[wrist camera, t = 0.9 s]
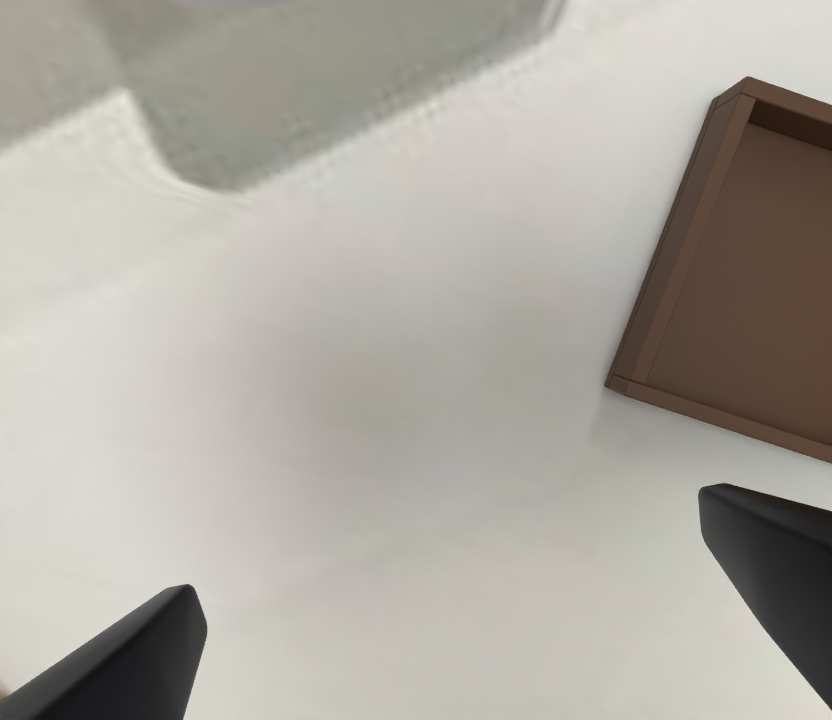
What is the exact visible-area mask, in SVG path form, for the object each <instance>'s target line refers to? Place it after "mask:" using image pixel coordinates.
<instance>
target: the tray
mask: <svg viewBox="0 0 832 720" xmlns="http://www.w3.org/2000/svg"><path fill="white" fill-rule="evenodd" d="M605 387H607V388H609V389H611V390H613V391H616V392H618V393H620V394H622V395H624V396H627V397H630V398H633V399H636V400H639V401H642V402H645V403H648V404H651V405H654V406H658V407H661V408H664V409H667V410H670V411H673V412H676V413H679V414H682V415H685V416H688V417H691V418H694V419H697V420H700V421H703V422H706V423H709V424H713V425H716V426H719V427H722V428H725V429H728V430H731V431H734V432H737V433H740V434H743V435H746V436H749V437H752V438H755V439H758V440H761V441H764V442H768V443H771V444H774V445H777V446H780V447H783V448H786V449H789V450H792V451H795V452H798V453H801V454H804V455H807V456H810V457H813V458H816V459H819V460H823V461H826V462H829V463H832V105H830V104H827V103H824V102H821V101H818V100H815V99H813V98H810V97H807V96H804V95H801V94H798V93H795V92H792V91H789V90H787V89H784V88H781V87H778V86H775V85H772V84H769V83H766V82H763V81H761V80H758V79H755V78H752V77H749V76H747V77H745V78H744V79H742V80H741V81H739V82H738V83H737V84H735V85H734V86H732V87H731V88H729V89H728V90H727V91H725V92H724V93H722V94H721V95H719V96H718V97H716V98H715V99H713V101H712V104H711V106H710V109H709V112H708V114H707V117H706V119H705V122H704V125H703V127H702V130H701V133H700V135H699V138H698V141H697V143H696V146H695V148H694V151H693V154H692V156H691V159H690V162H689V164H688V167H687V170H686V172H685V175H684V177H683V180H682V183H681V185H680V188H679V191H678V193H677V196H676V198H675V201H674V204H673V206H672V209H671V212H670V214H669V217H668V220H667V222H666V225H665V227H664V230H663V233H662V235H661V238H660V241H659V243H658V246H657V249H656V251H655V254H654V256H653V259H652V262H651V264H650V267H649V270H648V272H647V275H646V277H645V280H644V283H643V285H642V288H641V291H640V293H639V296H638V299H637V301H636V304H635V306H634V309H633V312H632V314H631V317H630V320H629V322H628V325H627V328H626V330H625V333H624V335H623V338H622V341H621V343H620V346H619V349H618V351H617V354H616V356H615V359H614V362H613V364H612V367H611V370H610V372H609V375H608V378H607V380H606V383H605Z"/></svg>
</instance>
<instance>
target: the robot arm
mask: <svg viewBox="0 0 832 720" xmlns="http://www.w3.org/2000/svg"><path fill="white" fill-rule="evenodd" d="M698 501H699V512H700V524H701V532H702V536H703V539H704V541H705V543H706V545H707V547H708V548H709V549H710V551H711V552H712V554H713V555H714V557H715V558H716V560H717V561H718V563H719V564H720V566H721V567H722V569H723V570H724V572H725V573H726V574H727V576H728V577H729V579H730V580H731V582H732V583H733V585H734V586H735V588H736V589H737V591H738V592H739V594H740V595H741V596H742V598H743V599H744V601H745V602H746V604H747V605H748V607H749V608H750V610H751V611H752V613H753V614H754V615H755V617H756V618H757V620H758V621H759V622H760V624H761V625H762V626H763V628H764V629H765V630H766V632H767V633H768V634H769V635H770V637H771V638H772V639H773V640H774V642H775V643H776V644H777V645H778V646H779V648H780V649H781V650H782V651H783V652H784V654H785V655H786V656H787V657H788V658H789V660H790V661H791V662H792V663H793V664H794V666H795V667H796V668H797V669H798V670H799V672H800V673H801V674H802V675H803V676H804V678H805V679H806V680H807V681H808V683H809V684H810V685H811V686H812V687H813V689H814V690H815V691H816V692H817V693H818V695H819V696H820V697H821V698H822V699H823V701H824V702H825V703H826V704H827V705H828V707H829V708H830V709H831V710H832V511H829V510H825V509H821V508H817V507H813V506H810V505H806V504H802V503H798V502H795V501H791V500H787V499H783V498H780V497H776V496H772V495H768V494H764V493H761V492H757V491H753V490H749V489H746V488H742V487H738V486H734V485H731V484H726V483H721V484H716V485H710V486H705V487H702V488H701V489H700V490H699V494H698ZM206 637H207V622H206V619H205V616H204V613H203V610H202V608H201V605H200V602H199V599H198V596H197V593H196V591H195V589H194V588H193V586H191V585H189V584H185V585H179V586H174V587H169V588H166V589H165V590H163V591H162V592H160V593H159V594H157V595H156V596H154V597H153V598H151V599H150V600H148V601H147V602H145V603H144V604H143V605H141V606H140V607H138V608H137V609H135V610H134V611H132V612H131V613H129V614H128V615H126V616H125V617H123V618H122V619H121V620H119V621H118V622H116V623H115V624H113V625H112V626H110V627H109V628H107V629H106V630H104V631H103V632H102V633H100V634H99V635H97V636H96V637H94V638H93V639H91V640H90V641H88V642H87V643H85V644H84V645H82V646H81V647H80V648H78V649H77V650H75V651H74V652H72V653H71V654H69V655H68V656H66V657H65V658H63V659H62V660H61V661H59V662H58V663H56V664H55V665H53V666H52V667H50V668H49V669H47V670H46V671H44V672H43V673H41V674H40V675H39V676H37V677H36V678H34V679H33V680H31V681H30V682H28V683H27V684H25V685H24V686H22V687H21V688H20V689H18V690H17V691H15V692H14V693H12V694H11V695H9V696H8V697H6V698H5V699H3V700H2V701H0V720H183V718H184V714H185V711H186V708H187V704H188V701H189V697H190V694H191V690H192V687H193V683H194V680H195V676H196V673H197V669H198V666H199V662H200V659H201V655H202V652H203V648H204V645H205V641H206Z"/></svg>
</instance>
